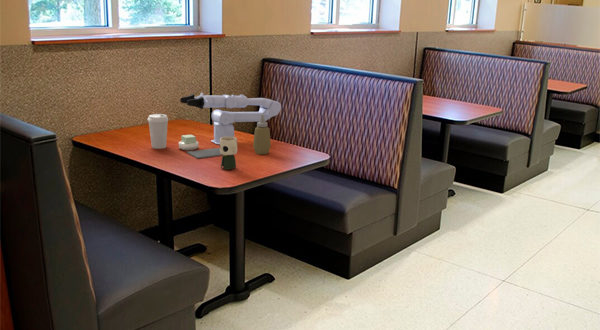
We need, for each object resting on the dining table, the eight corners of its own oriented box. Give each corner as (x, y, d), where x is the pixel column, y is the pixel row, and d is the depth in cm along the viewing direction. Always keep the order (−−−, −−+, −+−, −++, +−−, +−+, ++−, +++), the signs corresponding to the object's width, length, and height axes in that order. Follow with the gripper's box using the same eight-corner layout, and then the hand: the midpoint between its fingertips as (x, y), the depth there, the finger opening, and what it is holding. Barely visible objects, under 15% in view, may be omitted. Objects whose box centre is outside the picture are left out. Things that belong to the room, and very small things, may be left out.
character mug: (213, 167, 251) (213, 137, 247) (227, 164, 256) (227, 134, 252) (229, 173, 244) (229, 142, 240) (243, 170, 248) (243, 139, 245)
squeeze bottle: (273, 152, 278) (273, 114, 273) (266, 156, 270) (267, 117, 265) (257, 150, 280) (257, 112, 275) (250, 154, 273) (250, 115, 268)
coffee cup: (164, 150, 275) (163, 118, 271) (145, 148, 277) (143, 116, 273) (172, 145, 284) (171, 114, 280) (153, 143, 286) (152, 113, 282)
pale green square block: (191, 140, 282) (191, 134, 281) (195, 142, 278) (195, 136, 277) (181, 141, 279) (181, 135, 278) (185, 144, 275) (185, 137, 274)
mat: (218, 149, 280) (218, 147, 280) (229, 154, 272) (229, 153, 271) (186, 153, 272) (186, 151, 271) (197, 158, 263) (197, 157, 263)
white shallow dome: (193, 145, 285) (193, 139, 284) (201, 149, 278) (201, 143, 277) (175, 147, 280) (175, 141, 280) (183, 151, 273) (183, 145, 272)
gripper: (204, 90, 289) (178, 90, 281) (218, 95, 277) (191, 95, 270) (203, 105, 291) (177, 105, 283) (217, 110, 279) (190, 110, 271)
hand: (184, 101), depth 276 cm, fingers open, 7 cm apart
